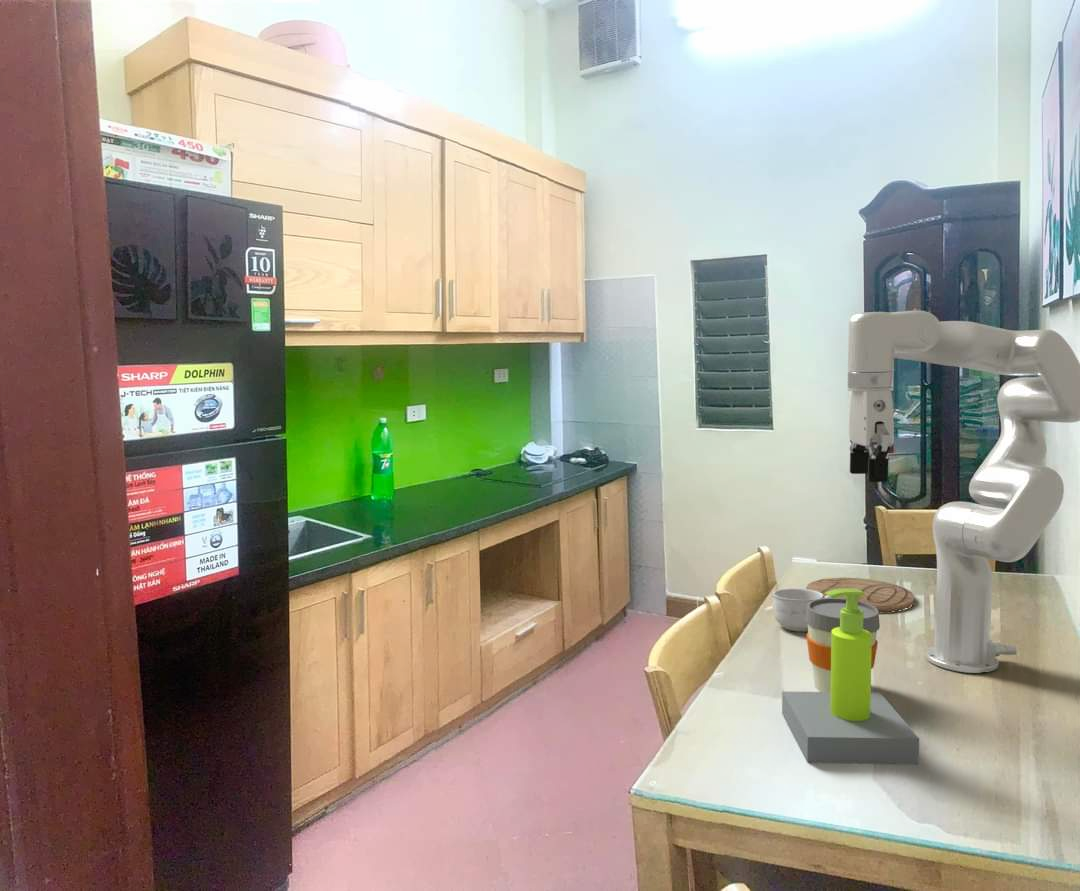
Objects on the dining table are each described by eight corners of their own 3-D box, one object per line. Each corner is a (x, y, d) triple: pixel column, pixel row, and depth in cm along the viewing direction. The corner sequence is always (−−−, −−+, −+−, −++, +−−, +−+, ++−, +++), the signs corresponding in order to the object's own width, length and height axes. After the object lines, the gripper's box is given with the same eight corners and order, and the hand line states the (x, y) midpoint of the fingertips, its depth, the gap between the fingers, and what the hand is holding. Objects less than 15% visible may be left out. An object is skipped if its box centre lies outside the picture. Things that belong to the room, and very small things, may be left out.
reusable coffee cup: (852, 671, 149) (854, 595, 147) (893, 699, 136) (895, 616, 135) (791, 677, 146) (792, 600, 145) (827, 706, 134) (828, 622, 133)
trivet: (793, 603, 191) (793, 596, 191) (821, 579, 212) (821, 572, 211) (903, 621, 177) (903, 613, 177) (922, 593, 197) (922, 586, 197)
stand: (879, 715, 130) (879, 692, 130) (918, 764, 114) (919, 738, 114) (782, 714, 131) (782, 691, 131) (807, 762, 116) (807, 736, 115)
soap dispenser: (817, 706, 125) (818, 585, 123) (858, 703, 126) (860, 583, 124) (835, 723, 119) (836, 596, 117) (877, 719, 120) (880, 594, 118)
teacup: (770, 632, 171) (770, 597, 170) (775, 617, 181) (775, 583, 180) (838, 640, 165) (838, 603, 164) (839, 623, 175) (839, 589, 174)
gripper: (911, 383, 129) (908, 484, 131) (874, 380, 146) (872, 470, 148) (865, 384, 130) (862, 485, 132) (834, 381, 147) (832, 471, 149)
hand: (868, 477), depth 140 cm, fingers open, 9 cm apart
